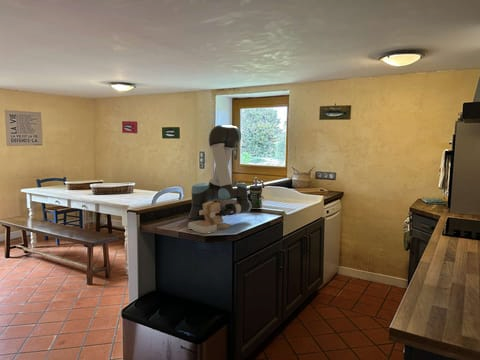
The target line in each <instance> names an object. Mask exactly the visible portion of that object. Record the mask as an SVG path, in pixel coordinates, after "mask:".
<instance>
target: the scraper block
mask: <svg viewBox="0 0 480 360" xmlns="http://www.w3.org/2000/svg"><path fill="white" fill-rule="evenodd" d="M202 206H203V211H204V216H205V220H204V221H206V222H211V224H213V225H215V224H219V223H221V222H224V219H223V215H222V216H220V215H219V216H217V217H212V218H211V217H210V213H212V212H217V211H219V213H220V210H221V208H220V207H221V203H220V202H219V201H218V202H216V201H208V202H206V203H204V204H202Z"/></svg>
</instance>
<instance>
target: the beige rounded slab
mask: <svg viewBox="0 0 480 360" xmlns="http://www.w3.org/2000/svg"><path fill="white" fill-rule="evenodd" d="M198 221H199V220H194V221H190V222H188V224H187V226H188V228H187V230H189V229H192V230H195V231H194V232H196V231H198V232H197V233H199V232H202V233H201V234H203V233H207V234H209V233H208V232H211V233H214V232H213V231H216V232H218V230H217V224H215V225H211V226H206V227H204V226H200V225H198ZM192 230H191V231H192Z"/></svg>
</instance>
